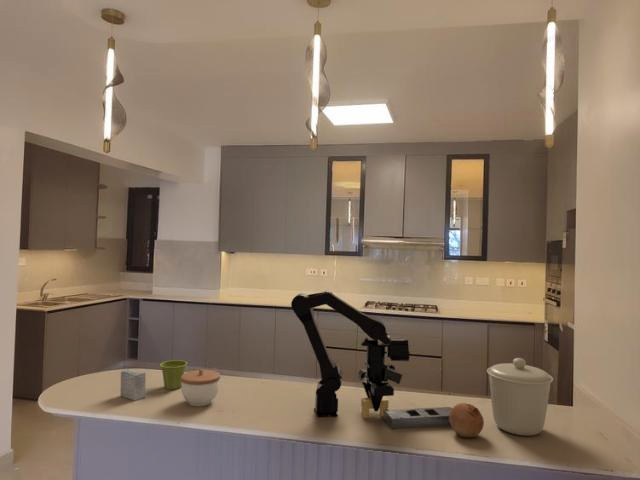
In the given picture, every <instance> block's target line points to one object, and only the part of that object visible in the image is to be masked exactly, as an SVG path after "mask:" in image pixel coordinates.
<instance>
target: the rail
mask: <svg viewBox="0 0 640 480" xmlns="http://www.w3.org/2000/svg"><path fill="white" fill-rule="evenodd" d="M452 408H453V407H452V406H441V407H421V408H420V407H419V408H398V409H397V408H396V409H388V410H384V417H383V420H384V422H385V423H386V424H387V425H388V427H389V429H390V428H391V430H397V429H398V430H399V429H401V430H402V429H416V428H417V429H418V428H419V429H420V428H434V427H435V428H437V427H451V423H450V422H449V414H450V411H451V410H452Z"/></svg>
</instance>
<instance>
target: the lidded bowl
mask: <svg viewBox="0 0 640 480" xmlns="http://www.w3.org/2000/svg"><path fill="white" fill-rule="evenodd" d="M220 378H221V373H219V372H218V371H215V370H212V369H211V370H210V369H202V368H200V369H198V370H191V371H187V372H184V374H183V375H182V376H181V392H182V396H183V399H185V401H186V402H188V404H189V405H190V406H192V407H204V406H207V405H210V404H212V401H213V400H214V399H215V398H216V396H217V395H218V393H219V389H220Z"/></svg>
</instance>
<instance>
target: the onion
mask: <svg viewBox="0 0 640 480" xmlns="http://www.w3.org/2000/svg"><path fill="white" fill-rule="evenodd" d="M451 408H452V410H451V411H450V414H449V422H450V423H451V426H450V427H451V430H452V431H454V432H455V434H457V435H458V436H460V437H461V438H475V437H476V436H478V435H479V434H480V433H481V432H482V431H483V428H484V425H485V421H484V417H483V415H482V413H481V412H480V410H479V408H478V407H476V406H474V405H473V404H469V403H465V402H461V403H460V402H459V403H457V404H456V405H454V406H453V407H451Z"/></svg>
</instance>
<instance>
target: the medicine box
mask: <svg viewBox="0 0 640 480" xmlns="http://www.w3.org/2000/svg"><path fill="white" fill-rule="evenodd" d="M146 377H147V375H146V372H145V371H141V370H138V369H133V368H129V369H125V370H123V371H120V397H121V398H126V399H129V400H131V401H139V400H141V399H144V398H146V388H147V387H146V381H147V380H146Z"/></svg>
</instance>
